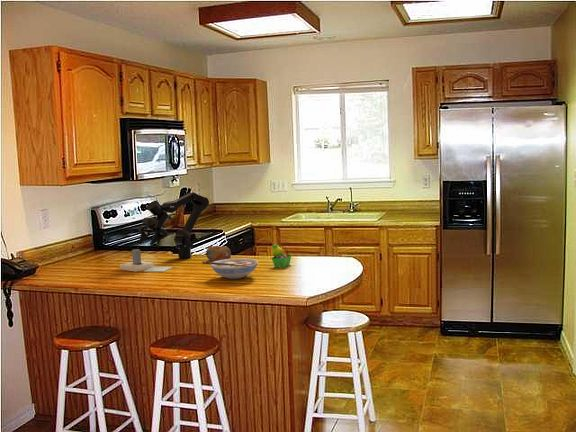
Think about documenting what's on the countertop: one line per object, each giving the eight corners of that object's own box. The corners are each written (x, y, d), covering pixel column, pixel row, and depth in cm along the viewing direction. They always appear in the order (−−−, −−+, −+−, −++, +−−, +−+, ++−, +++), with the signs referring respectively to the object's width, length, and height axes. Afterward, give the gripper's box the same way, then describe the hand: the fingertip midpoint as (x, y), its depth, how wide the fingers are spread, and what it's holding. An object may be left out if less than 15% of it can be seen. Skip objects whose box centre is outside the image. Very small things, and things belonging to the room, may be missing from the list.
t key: (136, 267, 335) (134, 248, 334) (143, 268, 331) (142, 249, 330) (131, 268, 332) (130, 249, 331) (138, 269, 329) (137, 250, 328)
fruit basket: (285, 268, 316) (284, 246, 315) (269, 267, 319) (268, 246, 318) (292, 264, 327) (291, 242, 326) (276, 263, 330) (275, 242, 329)
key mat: (153, 267, 332) (153, 266, 332) (172, 267, 329) (172, 266, 329) (144, 271, 322) (143, 270, 321) (163, 272, 319) (163, 270, 319)
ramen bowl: (270, 275, 301) (269, 258, 301) (243, 285, 282) (242, 267, 281) (228, 271, 314) (227, 255, 313) (199, 280, 295) (198, 263, 294)
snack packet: (206, 260, 346) (205, 245, 345) (209, 259, 349) (208, 244, 348) (229, 262, 339) (228, 247, 338) (232, 261, 342) (231, 246, 341)
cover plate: (138, 265, 340) (138, 260, 340) (154, 267, 332) (153, 262, 332) (120, 269, 331) (120, 264, 331) (135, 271, 323) (135, 266, 323)
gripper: (140, 211, 343) (124, 234, 336) (162, 212, 331) (146, 236, 324) (152, 224, 350) (137, 246, 343) (174, 225, 338) (159, 248, 331)
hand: (144, 244), depth 335 cm, fingers open, 9 cm apart
